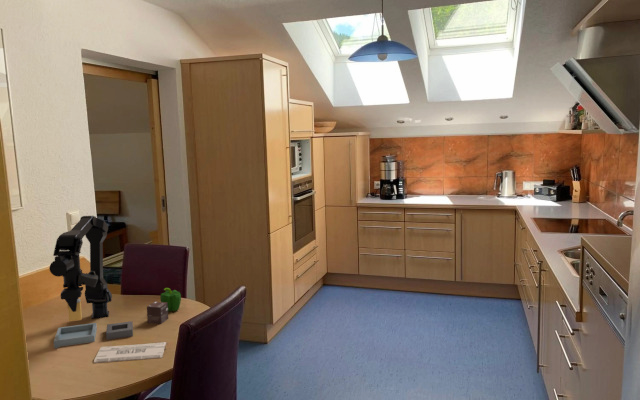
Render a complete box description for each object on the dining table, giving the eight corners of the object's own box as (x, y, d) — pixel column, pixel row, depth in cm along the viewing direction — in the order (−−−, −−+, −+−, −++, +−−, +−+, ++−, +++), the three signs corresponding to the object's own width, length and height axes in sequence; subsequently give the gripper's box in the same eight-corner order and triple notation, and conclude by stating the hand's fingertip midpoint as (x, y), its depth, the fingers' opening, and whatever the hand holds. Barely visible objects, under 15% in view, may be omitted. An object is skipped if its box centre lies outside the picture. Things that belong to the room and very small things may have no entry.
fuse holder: (107, 332, 190) (107, 324, 189) (132, 328, 193) (132, 321, 192) (106, 341, 181) (106, 333, 181) (133, 337, 184) (132, 329, 184)
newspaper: (167, 344, 179) (167, 338, 179) (162, 362, 168) (162, 356, 167) (101, 348, 176) (100, 342, 175) (91, 367, 164) (90, 361, 164)
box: (161, 325, 196) (160, 307, 195) (147, 324, 197) (146, 306, 196) (168, 319, 202) (167, 302, 201) (155, 318, 203) (154, 301, 202)
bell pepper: (182, 306, 217) (181, 283, 216) (181, 312, 209) (180, 289, 208) (162, 307, 216) (160, 285, 214) (160, 314, 208) (158, 291, 206)
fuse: (69, 318, 183) (68, 300, 182) (81, 317, 185) (80, 298, 184) (69, 321, 180) (67, 302, 180) (81, 319, 182) (79, 301, 181)
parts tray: (59, 334, 187) (58, 327, 187) (96, 329, 192) (96, 322, 191) (54, 348, 175) (53, 341, 175) (94, 342, 180) (94, 335, 179)
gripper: (94, 272, 174) (97, 315, 176) (97, 260, 192) (100, 299, 194) (58, 276, 170) (62, 320, 172) (64, 263, 188) (68, 303, 190)
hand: (74, 310), depth 182 cm, fingers closed on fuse, 3 cm apart
